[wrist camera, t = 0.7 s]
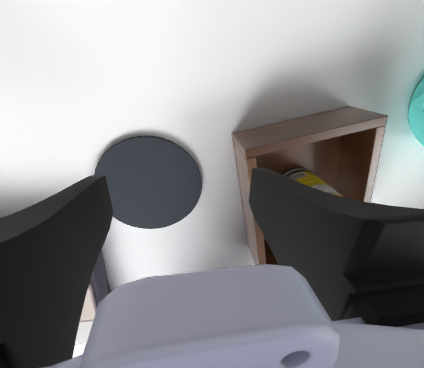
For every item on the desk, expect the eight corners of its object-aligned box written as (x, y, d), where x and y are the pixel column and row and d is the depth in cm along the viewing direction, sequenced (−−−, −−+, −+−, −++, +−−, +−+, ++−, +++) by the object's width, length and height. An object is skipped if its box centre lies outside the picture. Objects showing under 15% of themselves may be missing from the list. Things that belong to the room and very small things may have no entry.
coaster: (209, 213, 25) (210, 215, 25) (119, 236, 24) (118, 238, 24) (188, 124, 20) (188, 125, 20) (74, 150, 20) (73, 152, 19)
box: (336, 223, 29) (361, 248, 25) (248, 246, 28) (260, 275, 24) (349, 105, 22) (388, 115, 18) (231, 133, 21) (244, 149, 17)
